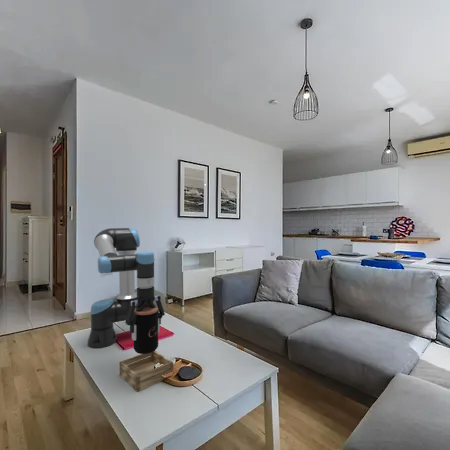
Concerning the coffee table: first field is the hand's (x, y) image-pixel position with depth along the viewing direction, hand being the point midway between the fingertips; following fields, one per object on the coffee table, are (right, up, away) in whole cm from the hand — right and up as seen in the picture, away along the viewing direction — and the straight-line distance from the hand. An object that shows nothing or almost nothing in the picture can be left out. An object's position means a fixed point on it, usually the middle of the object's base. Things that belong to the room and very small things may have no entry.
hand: (145, 335), depth 124 cm
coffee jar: (0, -6, 0) cm, 6 cm away
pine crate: (0, -18, 0) cm, 18 cm away
